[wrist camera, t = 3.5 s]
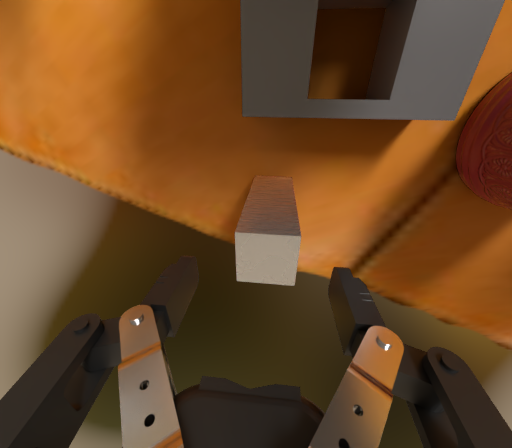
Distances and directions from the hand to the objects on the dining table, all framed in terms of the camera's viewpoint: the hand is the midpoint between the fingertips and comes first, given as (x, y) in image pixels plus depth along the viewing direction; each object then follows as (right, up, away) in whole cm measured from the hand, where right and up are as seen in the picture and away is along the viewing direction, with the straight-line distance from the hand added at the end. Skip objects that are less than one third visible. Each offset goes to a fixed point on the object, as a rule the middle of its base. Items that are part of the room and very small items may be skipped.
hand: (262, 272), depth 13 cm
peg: (+2, +6, +12) cm, 13 cm away
